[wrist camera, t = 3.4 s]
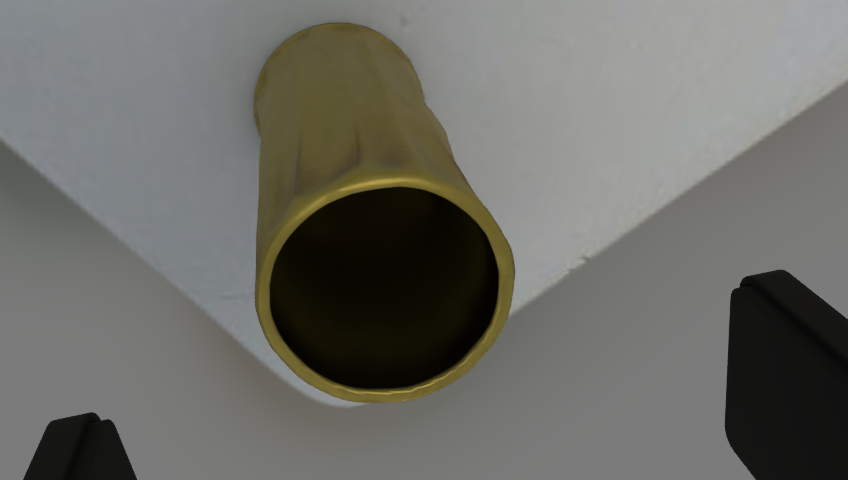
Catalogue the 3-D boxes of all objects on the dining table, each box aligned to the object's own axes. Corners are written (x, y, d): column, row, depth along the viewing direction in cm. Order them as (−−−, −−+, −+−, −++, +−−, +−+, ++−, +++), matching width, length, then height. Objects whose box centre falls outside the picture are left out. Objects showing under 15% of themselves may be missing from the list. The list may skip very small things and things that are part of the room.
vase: (356, 215, 30) (414, 464, 17) (219, 125, 27) (166, 336, 15) (455, 90, 28) (598, 260, 16) (319, -16, 26) (356, 81, 13)
